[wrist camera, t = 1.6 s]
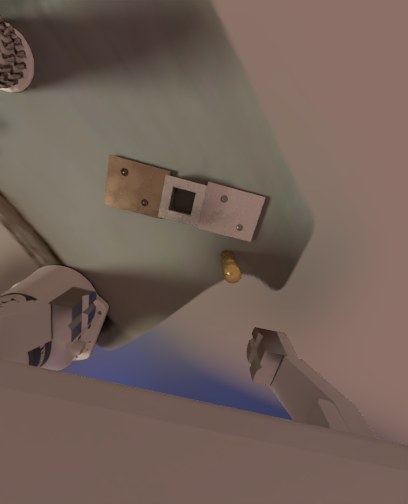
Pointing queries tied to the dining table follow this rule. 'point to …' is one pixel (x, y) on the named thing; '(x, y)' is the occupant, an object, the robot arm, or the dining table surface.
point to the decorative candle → (14, 59)
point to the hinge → (163, 194)
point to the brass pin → (230, 267)
